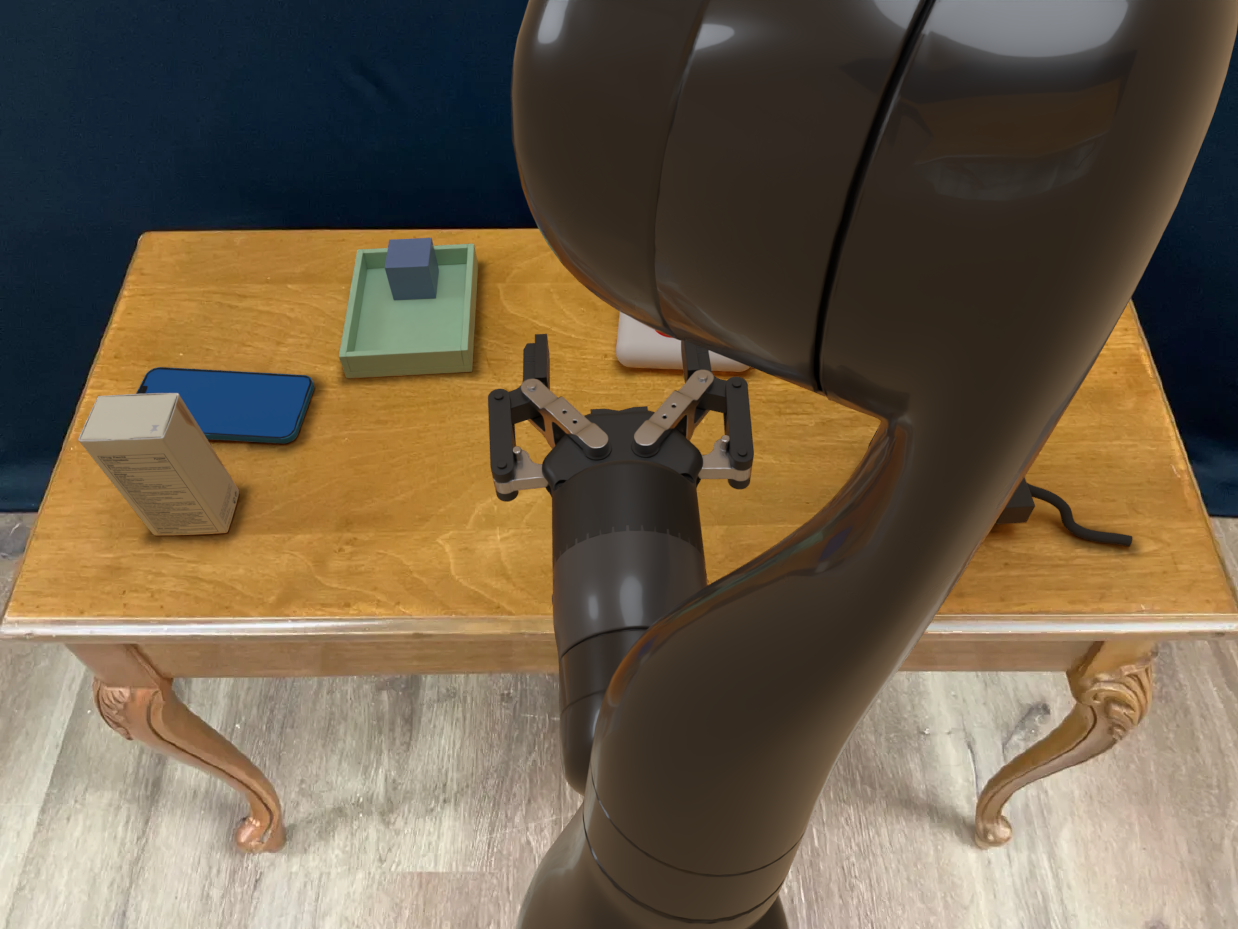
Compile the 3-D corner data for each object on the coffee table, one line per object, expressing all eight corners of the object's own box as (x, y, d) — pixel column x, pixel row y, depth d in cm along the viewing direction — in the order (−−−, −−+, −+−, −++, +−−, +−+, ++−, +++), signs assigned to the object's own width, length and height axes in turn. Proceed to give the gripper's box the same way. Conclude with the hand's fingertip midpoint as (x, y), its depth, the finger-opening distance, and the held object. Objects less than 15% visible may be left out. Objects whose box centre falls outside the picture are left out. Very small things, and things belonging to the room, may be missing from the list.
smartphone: (292, 439, 81) (117, 429, 82) (295, 447, 82) (122, 437, 82) (315, 374, 85) (149, 365, 86) (318, 382, 86) (153, 373, 87)
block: (439, 270, 94) (431, 237, 90) (436, 298, 91) (428, 265, 88) (397, 271, 93) (389, 239, 90) (393, 300, 91) (384, 267, 88)
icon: (756, 265, 88) (757, 344, 82) (752, 300, 91) (753, 379, 85) (622, 260, 88) (613, 338, 82) (623, 295, 92) (615, 373, 86)
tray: (478, 265, 95) (474, 243, 93) (472, 372, 86) (467, 350, 84) (364, 271, 95) (357, 249, 93) (346, 378, 86) (338, 356, 84)
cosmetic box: (241, 490, 79) (184, 390, 69) (228, 535, 76) (167, 438, 67) (163, 492, 79) (95, 392, 69) (148, 536, 76) (75, 439, 67)
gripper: (783, 527, 44) (739, 285, 54) (472, 544, 44) (484, 298, 54) (767, 607, 50) (730, 376, 60) (493, 622, 50) (501, 388, 60)
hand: (614, 340), depth 57 cm, fingers open, 8 cm apart
